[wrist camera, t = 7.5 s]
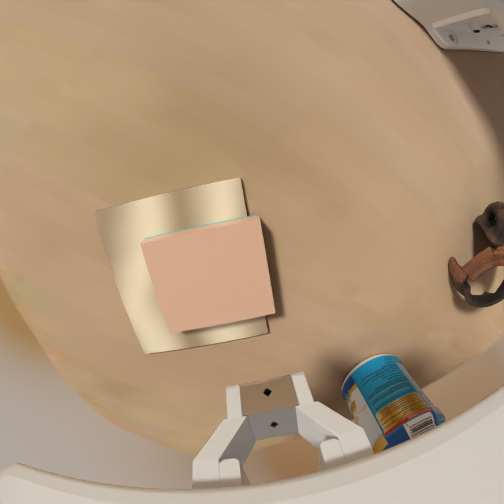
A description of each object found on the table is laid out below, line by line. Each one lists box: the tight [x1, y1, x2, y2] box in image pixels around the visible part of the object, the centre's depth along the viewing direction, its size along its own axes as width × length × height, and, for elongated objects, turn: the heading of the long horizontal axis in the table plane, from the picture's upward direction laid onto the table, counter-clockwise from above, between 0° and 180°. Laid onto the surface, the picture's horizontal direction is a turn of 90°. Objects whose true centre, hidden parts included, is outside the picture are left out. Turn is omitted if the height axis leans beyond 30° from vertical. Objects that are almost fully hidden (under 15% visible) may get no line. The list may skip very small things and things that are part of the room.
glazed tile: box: [140, 214, 275, 333], centre depth 23 cm, size 2×8×9 cm
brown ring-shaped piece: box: [448, 201, 504, 307], centre depth 24 cm, size 12×10×8 cm
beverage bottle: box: [342, 354, 445, 454], centre depth 22 cm, size 8×8×20 cm
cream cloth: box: [94, 178, 268, 354], centre depth 24 cm, size 12×14×1 cm
